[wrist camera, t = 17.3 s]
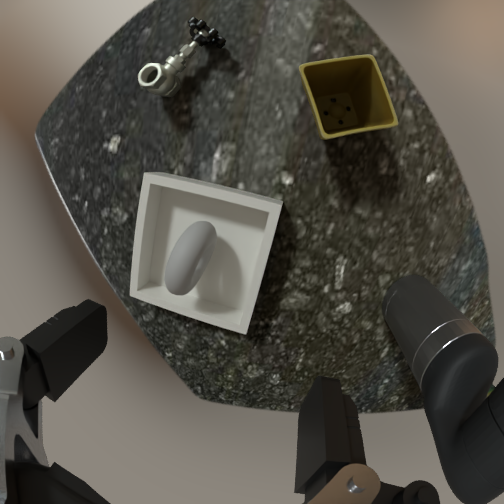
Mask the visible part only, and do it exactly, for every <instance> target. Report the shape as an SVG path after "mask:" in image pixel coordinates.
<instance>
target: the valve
mask: <svg viewBox="0 0 504 504" xmlns="http://www.w3.org/2000/svg"><path fill="white" fill-rule="evenodd" d="M188 23H189V27H191V29H190V35H191V36H192V38H191V39H192V41H193V42H192V43H191V44H190V45H187V44H186V45H185V46H184V47H183V48H182V49H181V50H180V52H181V53H180V54H179V55H175V56H174V57H172V56H169V57H168V58H167V59H166V64H165V65H164V66H162V65H161V64H159V63H149V64H146V65H145V66H144V67H143V68H142V70H141V71H140V72H139V74H138V79H139V83H140V86H141V87H143V88H145V89H147V90H148V91H149V92H151V93H152V94H155V95H159V96H162V97H173V96H174V95H175V94H176V93H177V92H178V91H179V89H180V88H181V85H180V81H179V78H178V77H177V76H176V74H177V73H178V72H182V71H183V70H184V69H185V68H186V67H185V66H184V64H185V63H186V61H185V59H186V58H187V57H188V58H191V57H192V55H193V54H194V53H195V52H196V51H195V50H194V49H195V48H196V47H197V46H198V45H199V46H201V47H202V46H203V45H207V44H208V43H210V44H212V45H213V44H214V43H218V45H217V47H218V48H220V49H221V48H222V47H223V46H224V45H225V42H226V40H225V39H224V38H223V37H220V36H218V35H217V34H218V31H217V30H216V29H214V28H212V29H211V28H209V27H208V26H207V25H206V23H205V22H204V21H203V20H199V21H198V20H197V19H196V18H195V17H192V18H191V19H190V20H189V21H188ZM195 28H196V29H197V30H198V32H197V34H195V33H194V32H193V31H194V29H195Z"/></svg>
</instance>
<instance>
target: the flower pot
mask: <svg viewBox="0 0 504 504" xmlns="http://www.w3.org/2000/svg"><path fill="white" fill-rule="evenodd" d="M299 71H300V75H301V80H302V84H303V87H304V90H305V92H306V95H307V98H308V101H309V104H310V107H311V110H312V113H313V116H314V119H315V123H316V126H317V129H318V133H319V136H320V138H321V139H322V140H328V139H332V138H336V137H341V136H346V135H351V134H356V133H362V132H368V131H374V130H380V129H386V128H392V127H396V126H397V125H398V120H397V116H396V114H395V111H394V107H393V105H392V102H391V99H390V96H389V93H388V91H387V88H386V85H385V82H384V80H383V77H382V75H381V72H380V69H379V67H378V65H377V62H376V60H375V58H374V56H373V55H358V56H350V57H342V58H335V59H329V60H322V61H316V62H310V63H306V64H302V65H300V66H299ZM332 98H334V99H335V100H336V101H335V102H332V101H331V100H332ZM347 107H349V108H350V111H347V110H346V108H347ZM325 111H326V112H328V115H324V112H325ZM339 120H341V121H342V122H343V123H342V124H339Z"/></svg>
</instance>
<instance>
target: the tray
mask: <svg viewBox="0 0 504 504" xmlns="http://www.w3.org/2000/svg"><path fill="white" fill-rule="evenodd" d="M282 205H283V201H281V200H277V199H273V198H270V197H266V196H262V195H258V194H254V193H250V192H246V191H243V190H238V189H234V188H230V187H226V186H222V185H218V184H213V183H209V182H205V181H200V180H196V179H191V178H187V177H182V176H177V175H173V174H168V173H163V172H150V173H144V177H143V183H142V189H141V195H140V201H139V208H138V215H137V222H136V230H135V239H134V248H133V258H132V270H131V284H130V296H132V297H135V298H138V299H140V300H143V301H145V302H148V303H151V304H154V305H156V306H159V307H162V308H165V309H167V310H170V311H173V312H176V313H179V314H182V315H185V316H188V317H191V318H194V319H197V320H200V321H203V322H206V323H209V324H212V325H216V326H219V327H222V328H225V329H229V330H232V331H235V332H239V333H242V334H246V333H247V330H248V327H249V323H250V320H251V317H252V313H253V310H254V306H255V303H256V299H257V296H258V292H259V289H260V285H261V281H262V278H263V274H264V271H265V267H266V264H267V260H268V256H269V253H270V249H271V245H272V242H273V238H274V234H275V231H276V227H277V223H278V220H279V216H280V212H281V208H282ZM197 221H207V222H210V223H211V224H212V225H213V226H214V227H215V230H216V233H217V241H216V245H215V248H214V251H213V253H212V256H211V258H210V260H209V263H208V265H207V267H206V269H205V271H204V272H203V274H202V276H201V278H200V279H199V281H198V282H197V284H196V285H195V287H194V288H193V289H192V290H191V291H190V292H189V293H187V294H186V295H174V294H172V293H170V292H169V291H168V289H167V288H166V285H165V281H164V276H165V269H166V265H167V261H168V259H169V257H170V254H171V252H172V250H173V248H174V246H175V244H176V242H177V241H178V239H179V238H180V236H181V235H182V233H183V232H184V231H185V230H186V229H187V228H188V227H189V226H190V225H192V224H193V223H195V222H197Z"/></svg>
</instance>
